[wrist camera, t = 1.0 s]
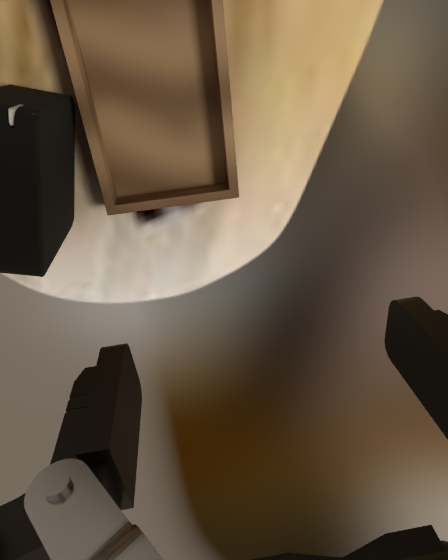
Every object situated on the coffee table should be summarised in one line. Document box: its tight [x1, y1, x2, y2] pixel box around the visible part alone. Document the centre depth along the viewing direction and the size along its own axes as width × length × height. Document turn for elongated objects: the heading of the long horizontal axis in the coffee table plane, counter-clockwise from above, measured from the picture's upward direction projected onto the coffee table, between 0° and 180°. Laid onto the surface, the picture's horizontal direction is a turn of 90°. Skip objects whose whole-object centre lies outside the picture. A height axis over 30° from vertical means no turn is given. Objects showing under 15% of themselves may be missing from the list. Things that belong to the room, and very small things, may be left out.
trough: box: [50, 0, 239, 215], centre depth 28 cm, size 16×10×3 cm, turn 6°
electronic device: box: [0, 85, 75, 277], centre depth 26 cm, size 4×10×10 cm, turn 169°
